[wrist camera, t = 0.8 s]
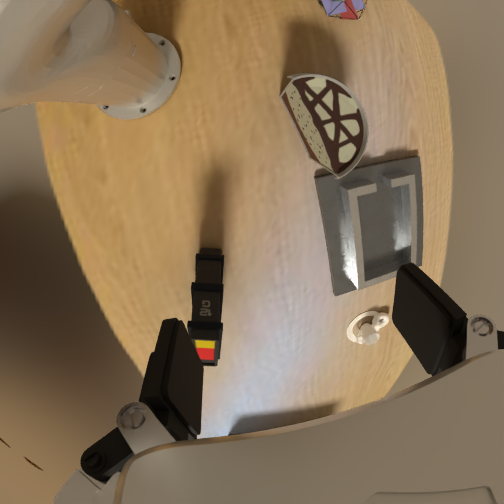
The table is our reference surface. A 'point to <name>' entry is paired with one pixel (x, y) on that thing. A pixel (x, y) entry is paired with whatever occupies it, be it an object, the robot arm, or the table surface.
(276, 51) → the table surface
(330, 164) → the food container
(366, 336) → the white curved piece
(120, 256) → the table surface
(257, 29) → the table surface
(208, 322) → the black tall block
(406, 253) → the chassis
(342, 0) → the geometric puzzle
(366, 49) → the table surface
